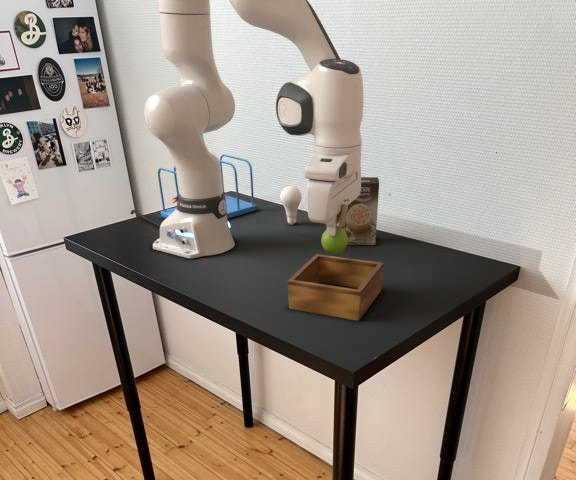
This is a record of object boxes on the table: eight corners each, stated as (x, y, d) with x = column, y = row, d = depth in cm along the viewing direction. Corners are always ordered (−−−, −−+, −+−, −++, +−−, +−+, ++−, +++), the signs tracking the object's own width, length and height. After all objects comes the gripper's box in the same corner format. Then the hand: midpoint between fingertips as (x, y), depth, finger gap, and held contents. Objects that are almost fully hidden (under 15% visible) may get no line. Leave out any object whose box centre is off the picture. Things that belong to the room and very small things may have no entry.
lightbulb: (278, 227, 161) (277, 188, 155) (285, 220, 166) (283, 183, 160) (299, 228, 159) (297, 189, 153) (304, 221, 164) (303, 183, 158)
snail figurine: (332, 261, 111) (335, 201, 104) (316, 251, 115) (317, 192, 109) (354, 256, 113) (358, 197, 106) (337, 246, 118) (340, 189, 111)
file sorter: (192, 230, 162) (184, 176, 153) (160, 218, 173) (152, 166, 164) (257, 210, 175) (254, 159, 166) (224, 200, 186) (219, 151, 177)
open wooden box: (288, 308, 117) (286, 280, 114) (316, 280, 129) (316, 253, 125) (359, 321, 111) (360, 292, 108) (382, 290, 123) (383, 262, 119)
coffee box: (341, 245, 147) (342, 183, 138) (341, 237, 152) (342, 176, 143) (376, 245, 146) (379, 182, 137) (375, 237, 151) (378, 176, 142)
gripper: (340, 146, 113) (339, 214, 121) (300, 171, 98) (301, 246, 106) (370, 148, 110) (366, 217, 118) (333, 174, 95) (332, 250, 103)
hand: (335, 231), depth 112 cm, fingers closed on snail figurine, 3 cm apart
